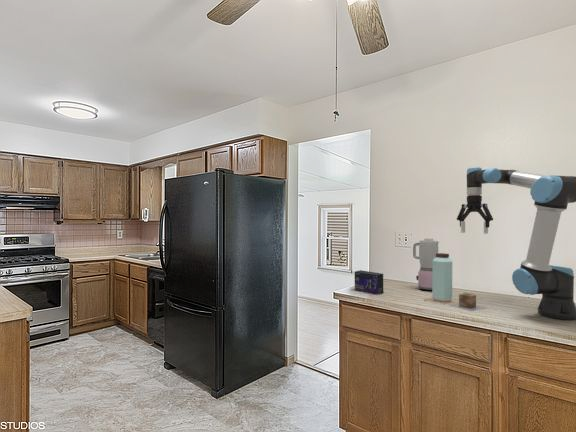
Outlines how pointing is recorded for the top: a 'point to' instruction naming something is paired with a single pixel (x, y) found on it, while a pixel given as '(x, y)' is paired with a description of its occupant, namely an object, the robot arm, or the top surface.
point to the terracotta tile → (441, 302)
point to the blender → (425, 262)
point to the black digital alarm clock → (369, 282)
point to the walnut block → (467, 300)
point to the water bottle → (442, 278)
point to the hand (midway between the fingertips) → (474, 233)
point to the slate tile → (468, 308)
